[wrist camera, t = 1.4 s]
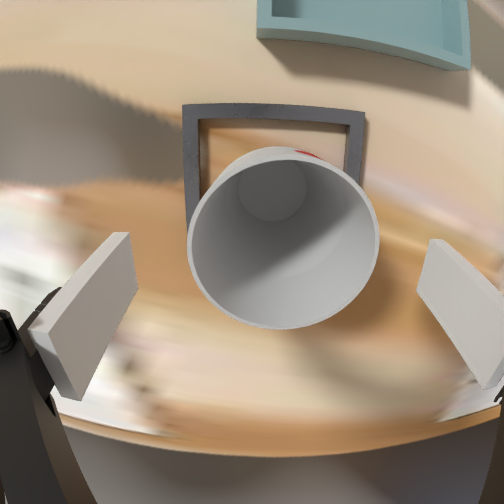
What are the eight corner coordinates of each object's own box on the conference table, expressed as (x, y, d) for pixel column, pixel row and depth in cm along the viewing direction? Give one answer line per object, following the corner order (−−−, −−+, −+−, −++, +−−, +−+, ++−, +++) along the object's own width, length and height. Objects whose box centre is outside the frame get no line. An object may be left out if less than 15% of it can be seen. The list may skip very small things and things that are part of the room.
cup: (345, 211, 22) (399, 283, 14) (250, 259, 24) (248, 351, 15) (296, 111, 19) (333, 117, 10) (192, 168, 21) (149, 219, 12)
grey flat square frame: (184, 104, 19) (182, 104, 18) (361, 111, 19) (365, 112, 18) (191, 263, 24) (189, 268, 24) (343, 265, 24) (345, 270, 24)
